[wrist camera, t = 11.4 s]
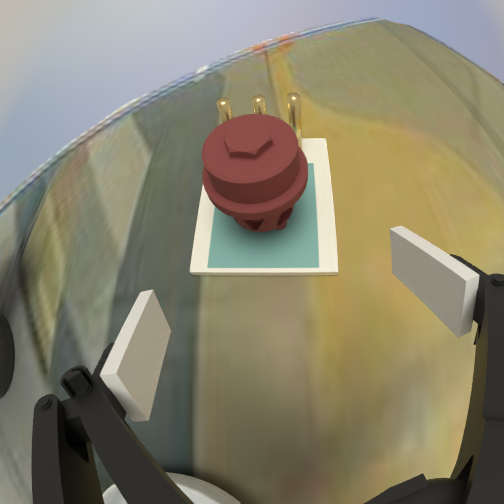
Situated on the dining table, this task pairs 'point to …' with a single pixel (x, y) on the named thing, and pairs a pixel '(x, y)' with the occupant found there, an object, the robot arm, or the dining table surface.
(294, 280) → the dining table surface
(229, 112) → the pin
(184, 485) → the cereal bowl
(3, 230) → the dining table surface
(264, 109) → the pin
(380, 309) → the dining table surface
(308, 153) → the header board
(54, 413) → the robot arm
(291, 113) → the pin
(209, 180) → the mechanical component
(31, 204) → the dining table surface
